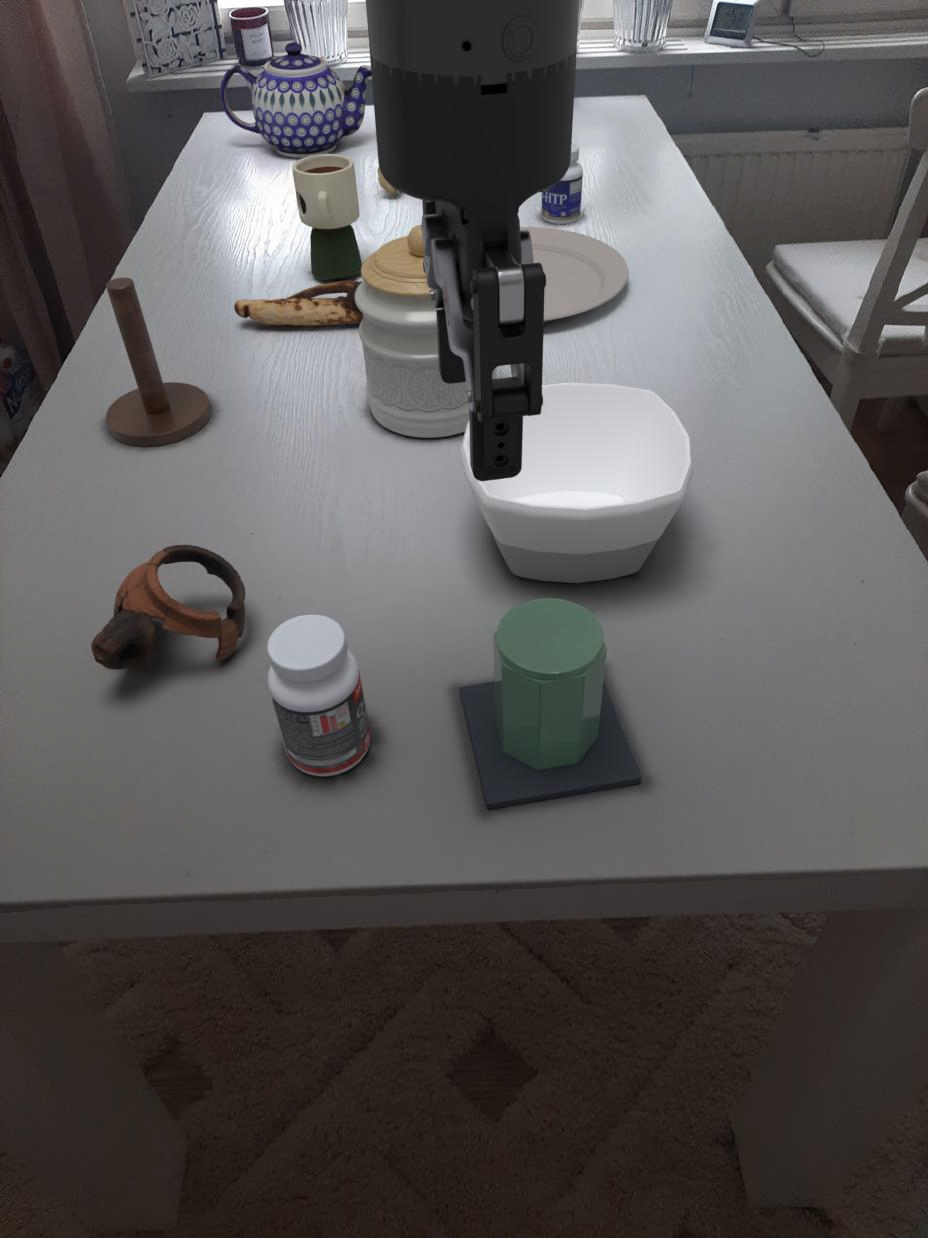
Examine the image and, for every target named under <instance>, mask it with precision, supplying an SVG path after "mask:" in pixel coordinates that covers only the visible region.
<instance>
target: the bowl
mask: <svg viewBox="0 0 928 1238" xmlns="http://www.w3.org/2000/svg"><path fill="white" fill-rule="evenodd" d="M542 395H543V405H542V409H541V414H540V415H533V416H523V439H522V469H521V471H520V473H519V474H518V475H517V476H515V477H512V478H505V479H497V480H489V481H479V480H477V479H475V477H474V475H473V472H472V469H471V466H470V424H469V421H468V423H467V426H466V430H465V432H464V435H463V438H462V442H461V446H460V450H459V456H460V460H461V464H462V468H463V473H464V476H465V481H466V482H467V485H468V487H469V489H470V491H471V493H472V495H473V497H474V499H475V502H476V504H477V506H478V509H479V510H480V512H481V515H482V517H483V519H484V521H485V523H486V524H487V527H488V528H489V530H490V532H491V534H492V536H493V539H494V541H495V544H496V545H497V548H498V549H499V552H500V554H501V556H502V558H503V559H504V561H505V563H506V566H507V567H508V569H509V571H510V573H512V574H513V575H514V576H516V577H519V578H524V579H531V580H535V581H542V582H554V583H555V582H556V583H570V584H582V583H591V582H597V581H605V580H612V579H613V580H614V579H617V578H621V577H624V576H629V575H632V574H636V573H637V572H639V571H640V569H641V568H642V567H643V565H644V563H645V562H646V561H647V559H648V557H649V555H650V554H651V552H652V551H653V549H654V548H655V546H656V544H657V542H658V541H659V540H660V538H661V536H662V535H663V534H664V532H665V531H666V529H667V527H668V526H669V524H670V523H671V521H672V519H673V518H674V516H675V515H676V512H678V510H679V508H680V506H681V504H682V503H683V502H684V499H685V497H686V494H687V492H688V489H689V486H690V483H691V480H692V477H693V474H694V459H693V443H692V439H691V437H690V436H689V434H688V432H687V430H686V428H685V427H684V425H683V423H682V422H681V419H680V418H679V416H678V415H677V413H676V412H675V411H674V410H673V409H672V408H671V407H670V406H669V405H668V404H667V403H666V402H665V401H664V400H663V399H662V398H661V397H660V396H659V395H657V394H656V392H654V391H653V390H649V389H644V388H639V387H638V388H636V387H632V386H626V385H620V384H613V383H592V382H591V383H590V382H589V383H587V382H560V383H550V384H542Z"/></svg>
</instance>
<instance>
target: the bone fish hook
mask: <svg viewBox="0 0 928 1238" xmlns="http://www.w3.org/2000/svg"><path fill="white" fill-rule="evenodd" d="M362 281H363V280H360V281H359V280H341V281H333V282H328V283H323V284H319V285H314V286H312V287H311V286H310V287H308V288H305V289H302V290H300V291H298V292H296V293H294V294H292V295H290V296H288V297H287V298H275V299H274V298H273V299H266V298H261V299H260V298H257V299H245V298H244V299H238V300H236V301H235V303H234V305H233V306H234V307H233V308H234V313H235V314H236V315H237V316H239V317H240V318H242V319H248V318H250V320H252V321H253V322H255V323H260V324H264V325H268V326H270V325H273V326H275V325H276V326H284V325H285V326H294V327H301V326H302V327H303V326H304V327H306V326H308V327H315V326H326V325H327V326H339V325H352V324H353V325H354V324H359V325H360V323H361V321H362V320H363V313H362V312H361V311H360V310H359V308H358V307H357V305H356V303H355V292H356V289H357V287H358V286H359V284H360V283H361V282H362ZM333 294H335V295H336V294H346V296H344V295H340V296H337V297H328V298H327V297H326V298H321V297H319V296H325V295H333Z"/></svg>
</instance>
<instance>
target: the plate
mask: <svg viewBox="0 0 928 1238" xmlns="http://www.w3.org/2000/svg"><path fill="white" fill-rule="evenodd" d="M520 230H529V232H530V236H531V243H532V251H533V261H534V262H533V263H541V265H542V267H543V272H544V273H545V275H546V287H545V292H544V323H547V322H553V321H558V320H561V319H565V318H567V317H570V316H575V315H579V314H581V313H584V312H588V311H590V310H593V309H595V308H598V307H600V306H602V305H603V304H605V303H607V302H608V301H610V300H611V299H613V298H615V297H616V296H617V295H618V294H619V293H620V292H621V291H622V290H623V289H624V287H625V286H626V284H627V281H628V279H629V267H628V264H627V262H626V259H625V258H624V257H623V256H622V254H621V253H620V252H618V250H616V249H615V248H614V247H612V246H611V245H609V244H607V243H606V242H603V241H602V240H599V239H597V238H595V237H592V236H589V235H586V234H582V233H579V232H576V231H570V230H567V229H559V228H551V227H541V226H520Z"/></svg>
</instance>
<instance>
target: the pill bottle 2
mask: <svg viewBox="0 0 928 1238" xmlns="http://www.w3.org/2000/svg"><path fill="white" fill-rule="evenodd" d="M579 157H580V147H579V145H578V144H576V143H574V142H573V143H572V144H571V161H570V165H569V168H568V171H567V172H566V174H565V176H564V177H563V178H562V179H561V180H560V181H559V182H558V183H557V184H556V185H554V186H553V187H551V188H550V189H548V190H546V191H544V192H541V208H540V209H541V213H540V215H541V218H542V220H544V221H545V222H548V223H549V224H553V225H567V224H572V223H575V222H578V220H579V219H580V217H581V213H582V212H581V211H582V195H583V194H582V193H583V178H584V177H583V175H584V171H583V170H584V169H583V167H582V164H580V163H579V162H578V161H579Z"/></svg>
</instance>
